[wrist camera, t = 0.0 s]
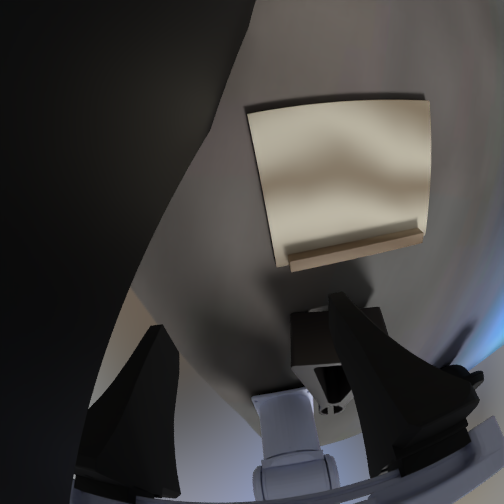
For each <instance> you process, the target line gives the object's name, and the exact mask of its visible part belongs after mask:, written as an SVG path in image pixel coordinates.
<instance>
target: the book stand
mask: <svg viewBox="0 0 504 504" xmlns="http://www.w3.org/2000/svg"><path fill="white" fill-rule="evenodd" d="M247 116H248V121H249V126H250V130H251V135H252V140H253V145H254V150H255V155H256V160H257V165H258V170H259V175H260V180H261V185H262V190H263V196H264V201H265V206H266V211H267V217H268V222H269V227H270V233H271V238H272V244H273V249H274V255H275V261H276V266H277V267H281V266H286V265H289V266H290V269H291V272H295V271H300V270H305V269H309V268H314V267H319V266H323V265H328V264H333V263H337V262H342V261H346V260H351V259H355V258H360V257H364V256H369V255H373V254H377V253H382V252H386V251H390V250H395V249H399V248H403V247H407V246H411V245H415V244H420V243H422V241H423V236H424V235H425V232H426V224H427V215H428V205H429V192H430V175H431V121H430V104H429V101H427V100H399V99H385V100H354V101H338V102H326V103H316V104H307V105H299V106H291V107H284V108H277V109H271V110H265V111H259V112H254V113H248V114H247Z"/></svg>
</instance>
